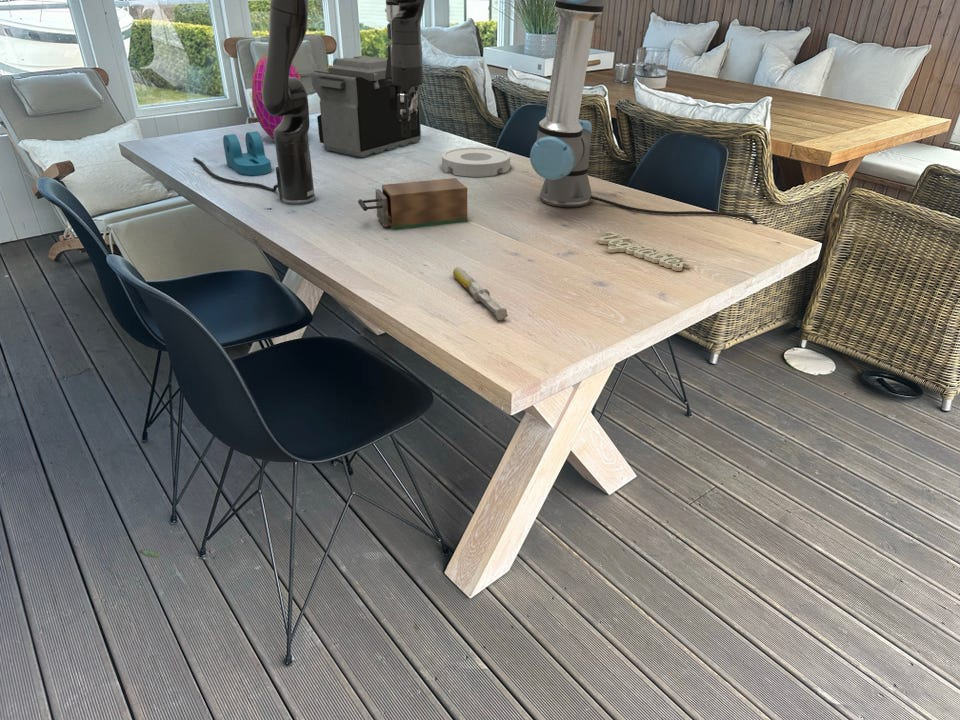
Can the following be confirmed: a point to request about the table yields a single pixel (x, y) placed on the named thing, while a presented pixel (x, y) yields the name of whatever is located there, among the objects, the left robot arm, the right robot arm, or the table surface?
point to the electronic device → (359, 108)
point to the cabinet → (426, 203)
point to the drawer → (379, 206)
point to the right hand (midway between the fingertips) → (404, 106)
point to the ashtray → (475, 161)
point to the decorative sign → (642, 251)
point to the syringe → (479, 293)
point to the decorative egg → (262, 115)
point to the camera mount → (246, 154)
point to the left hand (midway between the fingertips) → (409, 132)
